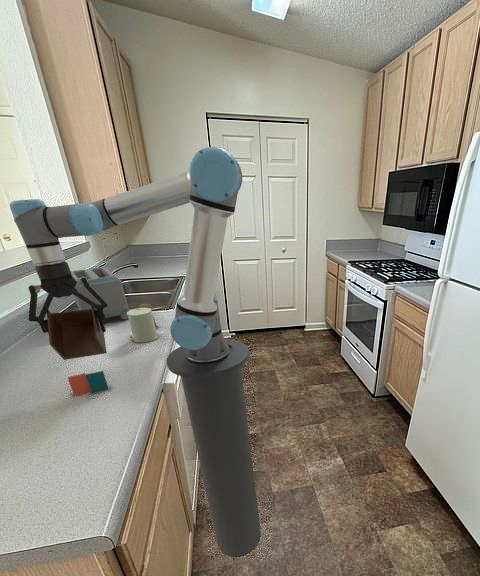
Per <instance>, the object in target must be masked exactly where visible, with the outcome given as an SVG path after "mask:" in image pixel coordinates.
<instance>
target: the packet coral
mask: <svg viewBox="0 0 480 576" xmlns="http://www.w3.org/2000/svg"><path fill="white" fill-rule="evenodd" d="M86 374H87V373H86V372H83V373H79V374H75V375H74V374H73V375H69V376H68V377H67V380H68V382H69V385H70V387H71V390H72V393H73V396H78V395H82V394H86V393H92V392H91V389H90V386H89V383H88V380H87V377H86Z"/></svg>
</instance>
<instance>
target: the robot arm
mask: <svg viewBox="0 0 480 576" xmlns="http://www.w3.org/2000/svg"><path fill="white" fill-rule="evenodd" d="M242 184H243V172H242V169H241V165H240V164H239V163H238V161H237V160H236V157H234V155H233V154H232V153H230V152H229V151H228V150H226V149H225V148H222V147H219V146H218V147H217V146H207V147H203V148H202V149H200V150H198V151H197V152H196V153H195V154H194V155H193V157H192V159H191V161H190V164H189V167H188V169H187V171H185V172H182V173H179V174H176V175H173V176H170V177H167V178H164V179H161V180H157V181H154V182H151V183H148V184H145V185H142V186H140V187H136V188H133V189H129V190H127V191H124V192H121V193H117V194H115V195H111V196H108V197H105V198H102V199H98V200H95V201H93V202H92V201H91V202H87V203H83V202H82V203H73V204H64V205H56V206H47V205H46V203H45V201H43V199H39V198H31V199H17V200H12V201H11V202H10V203H9V209H10V212H11V215H12V217H13V221H14V223H15V225H16V227H17V229H18V231H19V233H20V235H21V238H22V240H23V242H24V244H25V247H26V251H27V252H28V255H29V257H30V259H31V262H32V264H34V265H35V266H34V269H35V271H36V274H37V276H38V278H39V280H40V284H31V285H29V286H28V287H27V288H28V292H29V294H30V297H29V298H30V299H29V308H28V309H29V310H28V321H29V322H37V323H38V324H39V327H40V328H41V331H42V333H43V334H46V333H47V334H48V335H49V332H48V320H47V319H45V317H46V316H47V311H48V310H49V308H50V306H51V304H52V302H53V299H54V298H56V299H61V298H63V297H71V296H73V295H75V296H76V297H78V298H80V299H81V300H83V301H85V302H86V303H88V304H89V305H91V306H92V307H94V308H95V309H97V310H95V313H96V315H97V318H98V321H99V323H100V326H101V329H102V331H103V332H104V333H106V331H107V330H106V327H105V324H104V322H103V321H106V318H105V315H104V312H103V309H104V308H105V307H107V306H108V303H107V302H106V301H105V300H104V299H103V298H102V297H101V296H100V295H99V294H98V292H97V291H96V290H95V289H94V288H93V287H92V286H91V285H90V284H89V282H88V280H87V278H86V277H82V278H79V279H75V278H74V277H73V276H72V273H71V271H72V270H71V268H70V266H69V263H68V262H67V261H65V260H66V255H65V252H64V250H63V248H62V245H61V242H60V239H62V238H70V237H71V238H73V237H83V236H84V237H90V236H94V235H99V234H101V233H102V232H103V231H107V230H111V229H112V228H114V227H118V226H120V225H123V224H126V223H130V222H133V221H136V220H139V219H143V218H145V217H149V216H152V215H155V214H159V213H161V212H164V211H168V210H171V209H175V208H178V207H180V206H184V205H187V204H191V206H192V207H193V209H194V211H193V219H192V226H191V234H190V239H189V241H190V242H189V248H188V257H187V262H186V271H185V272H186V273H185V280H184V286H183V294H182V295H181V296H180V297H178V298H177V299H176V305H175V313H174V319H173V320H172V322H171V323H170V330H169V331H170V335H171V338H172V340H173V341H174V342H175V343H176V344H177V345H178V346H179V347H183V348H186V349H187V351H186V355H187V359H188V360H189V361H190V362H193V363H197V364H208V363H214V362H217V361H220V360H222V359H224V358H226V357H227V356H228V355H229V353H230V351H229V347H230V348H232V346H231V345H229V344H227V342H226V340H225V336H224V334H223V331H222V324H221V317H220V310H219V300H218V297H217V294H216V286H217V282H218V276H219V269H220V263H221V257H222V252H223V248H224V247H223V245H224V240H225V235H226V228H227V223H228V219H229V217H232V216H233V215H235V212H236V206H237V200H238V195H239V191H240V190H241V187H242ZM77 283H79V284H80V285H82V286H85V288H86V289H87V290H88V291H89V292H90V293H91V294H92V295H93V296H94V297H95V298H96V299H97V300H98V301H99V302H100V303H101V304H100V305H99V304H98V303H96V302H95V301H93V300H92V299H90V298H89V297H87V296H86V295H84V294H83V293H81V292H80V291H79V290H77V289H76V288H75V287H76V284H77ZM41 290H43V291H44V292H45V293H47V296H46V299H45V301H44V303H43V305H42V308H41V310H40V313H39V315H37V307H38V294H39V293H40V292H41Z"/></svg>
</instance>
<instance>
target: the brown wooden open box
mask: <svg viewBox="0 0 480 576" xmlns="http://www.w3.org/2000/svg"><path fill="white" fill-rule="evenodd" d="M91 308H92V309H86V310H70V311H68V310H67V311H61V312H51V311H50V309H48V311H47V313H46V316H47V317H46V318H47V319H46V320H48V332H49V334H48V343H49V345H50V347H51V348H52V349H53V350H54V351H55V352H56V353H57V354H58V355H59V357H60V358H62V360H63V361H66V360H67V361H68V360H74V359H79V358H86V357H91V356H98V355H103V354H105V355H106V354H107V345H106V338H105V332H103V331H102V329H101V326H100V323H99V321H98V318H97V315H96V313H95V308H94V307H92V306H91ZM48 332H47V333H48Z"/></svg>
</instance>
